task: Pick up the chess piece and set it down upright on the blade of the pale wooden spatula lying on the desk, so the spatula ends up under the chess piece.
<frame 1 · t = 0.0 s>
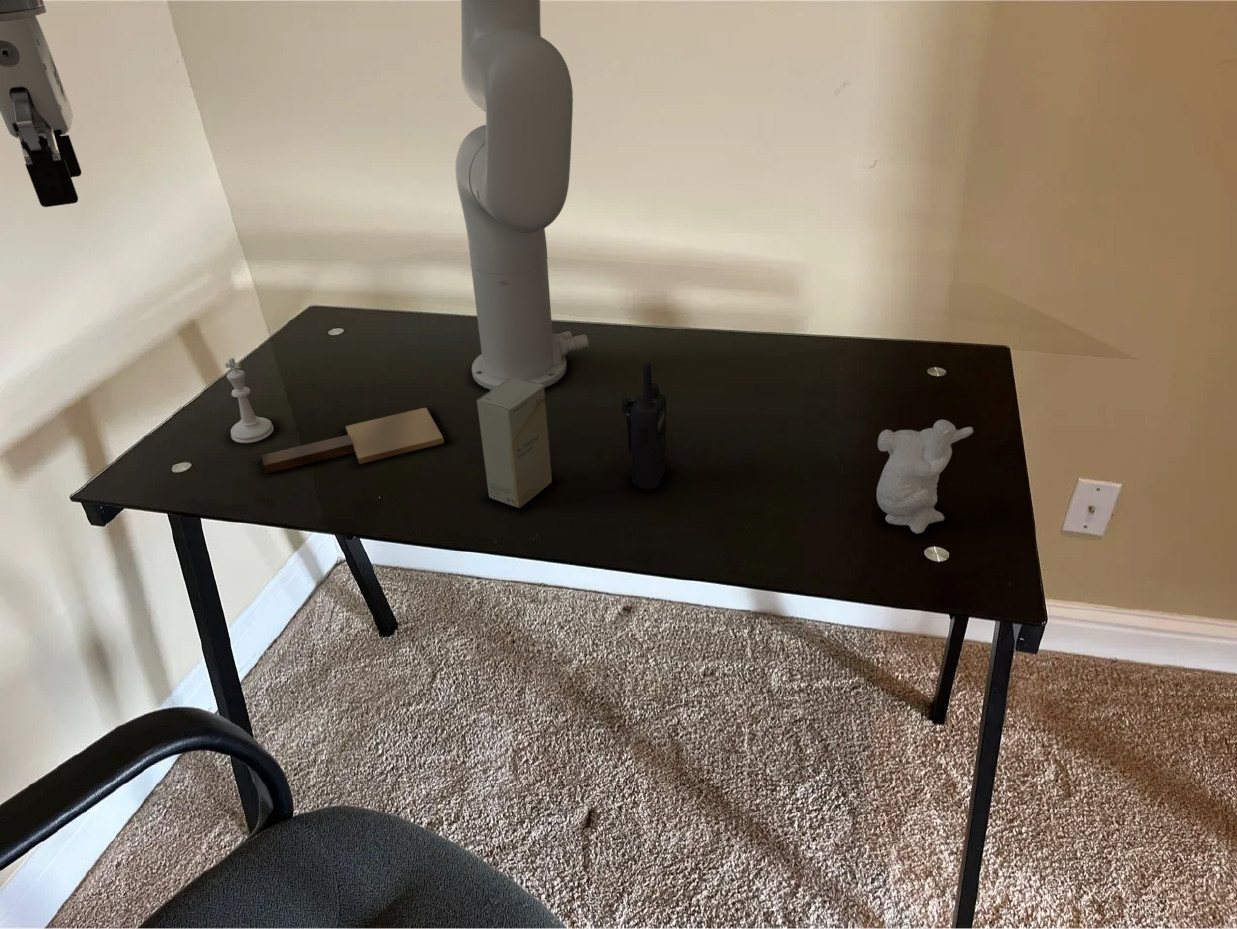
hand: (63, 190, 91), 31 cm above the table, tool pointing down, fingers open, 9 cm apart
two-way radio: (643, 479, 102), on the table
cosmetic box: (521, 490, 101), on the table
chess piece: (253, 433, 112), on the table
koala figurine: (908, 521, 94), on the table
spatula: (352, 447, 108), on the table
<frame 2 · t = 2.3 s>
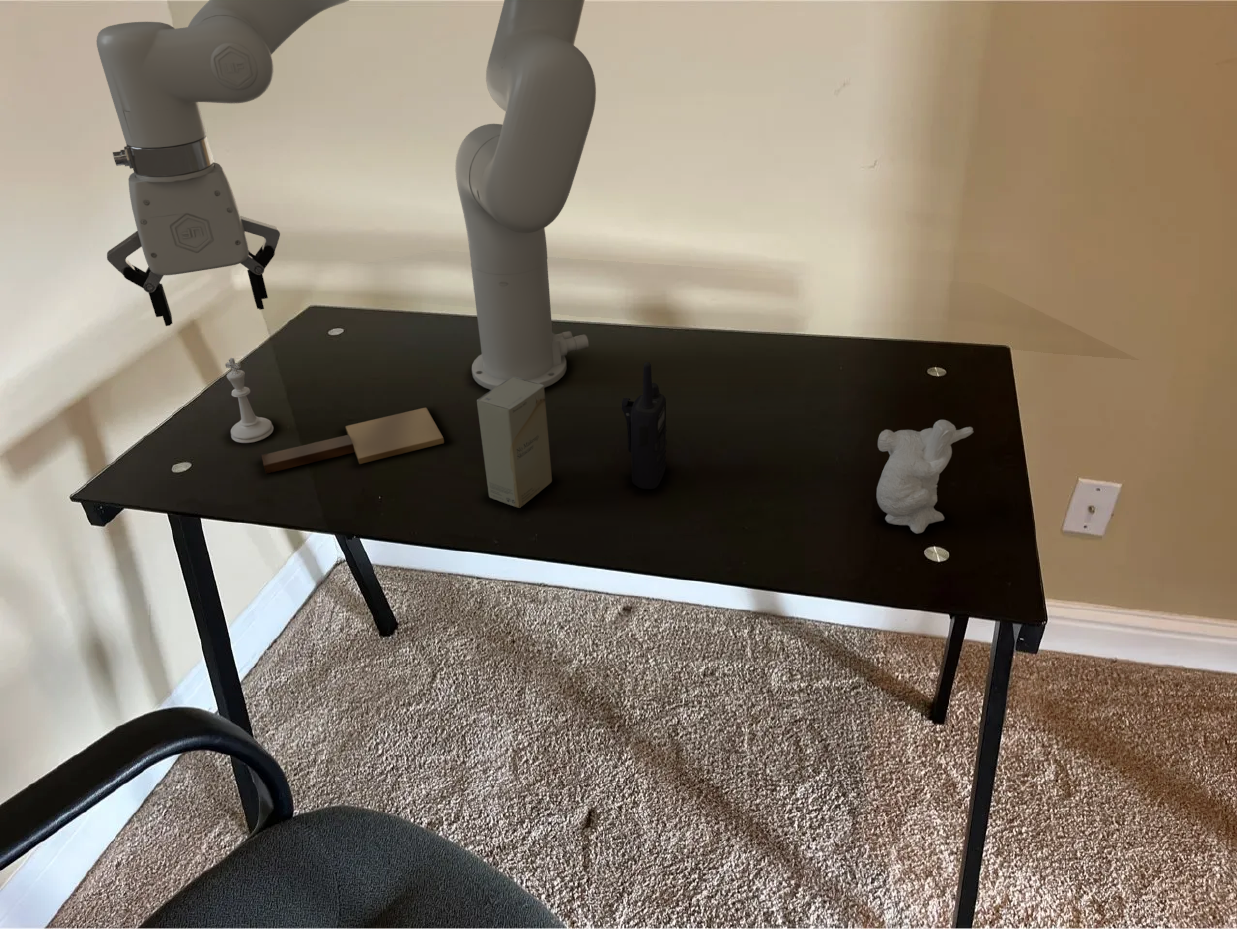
hand: (214, 312, 103), 16 cm above the table, tool pointing down, fingers open, 9 cm apart
nothing on the table moved.
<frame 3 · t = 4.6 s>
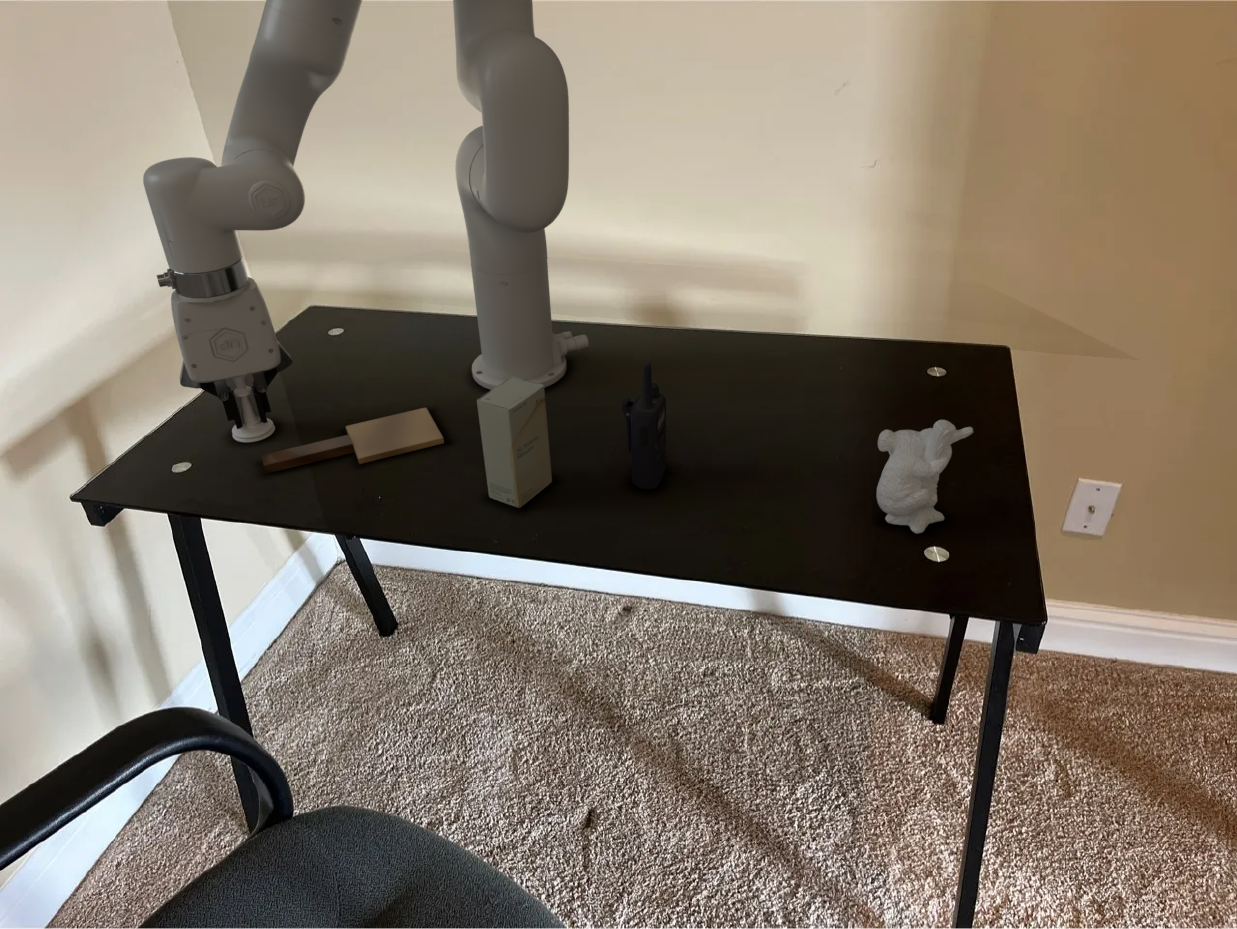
hand: (251, 419, 111), 2 cm above the table, tool pointing down, fingers closed on chess piece
chess piece: (254, 433, 112), on the table, touching gripper
everything else where it was.
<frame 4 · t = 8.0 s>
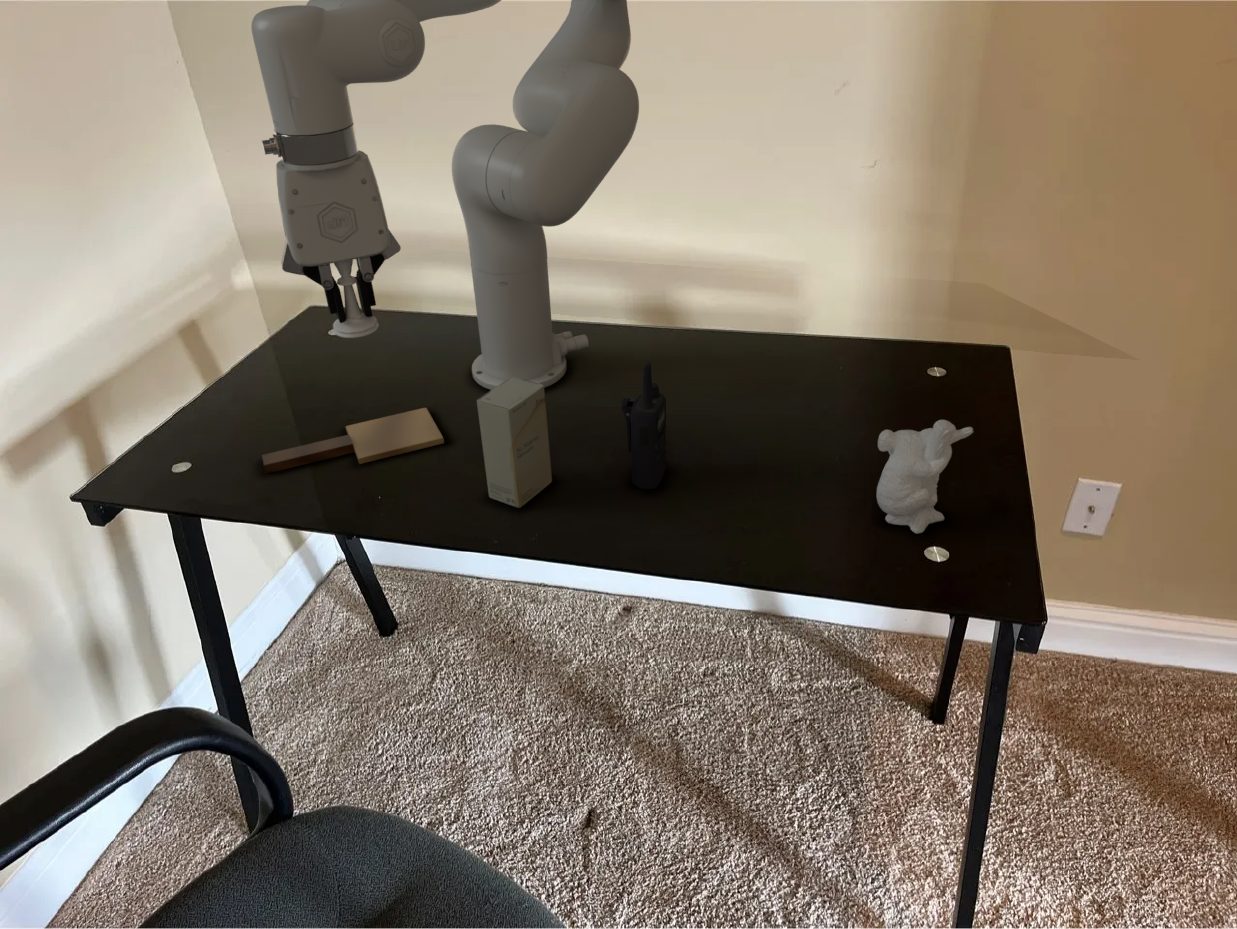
hand: (354, 314, 102), 16 cm above the table, tool pointing down, fingers closed on chess piece
chess piece: (356, 329, 103), point 14 cm above the table, touching gripper
everything else where it was.
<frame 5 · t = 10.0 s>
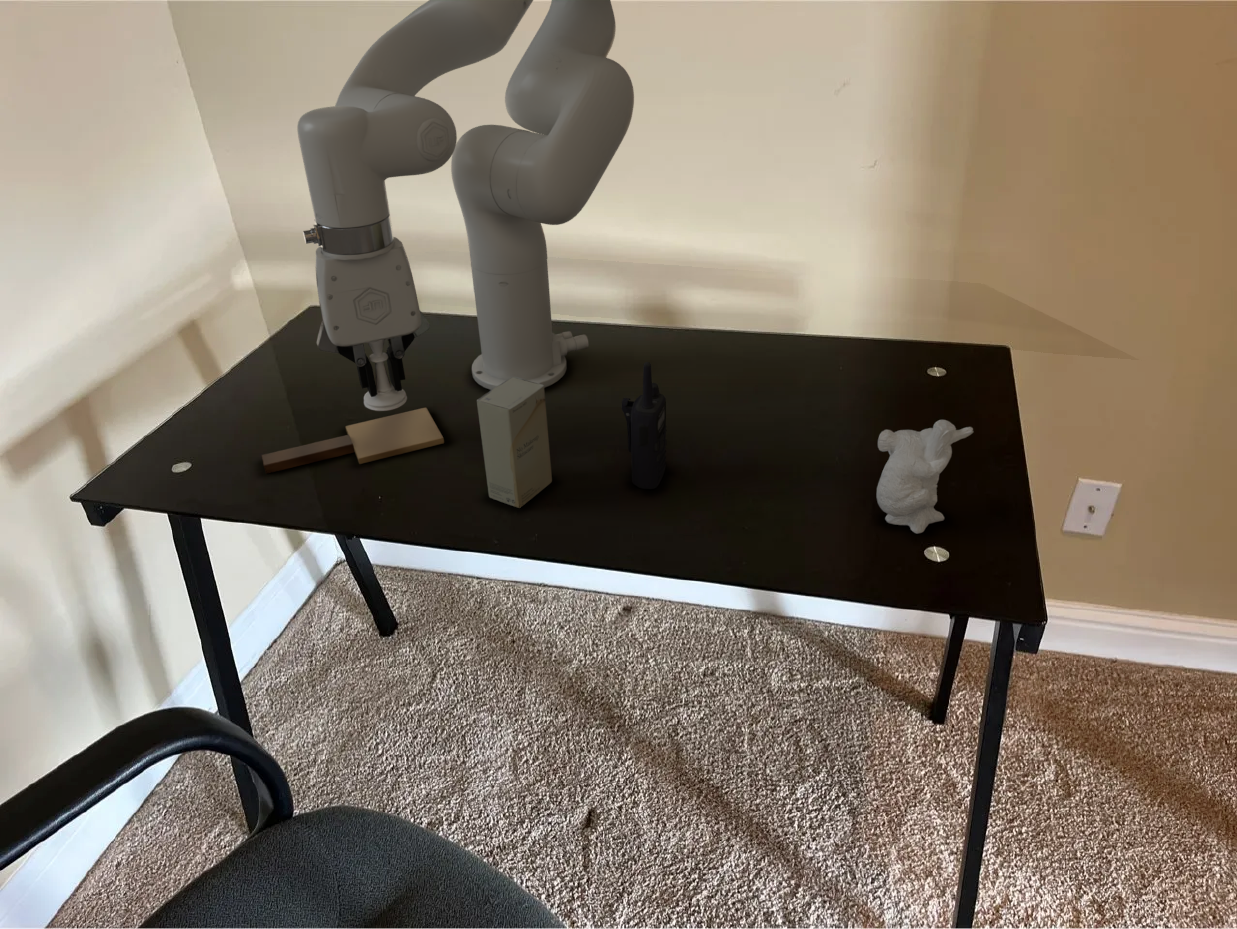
hand: (383, 387, 106), 7 cm above the table, tool pointing down, fingers closed on chess piece
chess piece: (385, 402, 107), point 5 cm above the table, touching gripper
everything else where it was.
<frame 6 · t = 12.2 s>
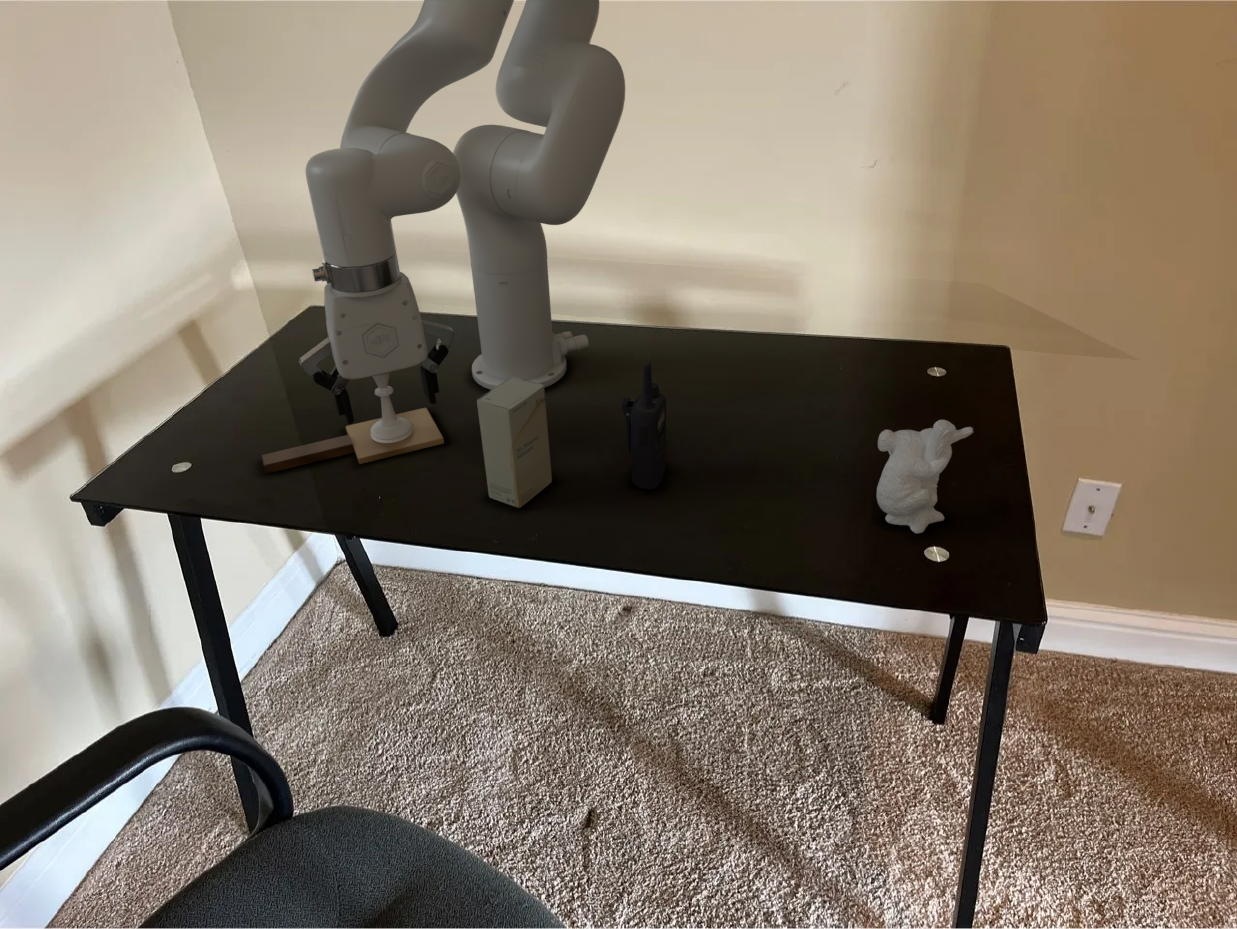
hand: (390, 408, 108), 4 cm above the table, tool pointing down, fingers open, 9 cm apart
chess piece: (392, 433, 110), point 1 cm above the table, touching spatula
spatula: (352, 447, 108), on the table, touching chess piece
everything else where it was.
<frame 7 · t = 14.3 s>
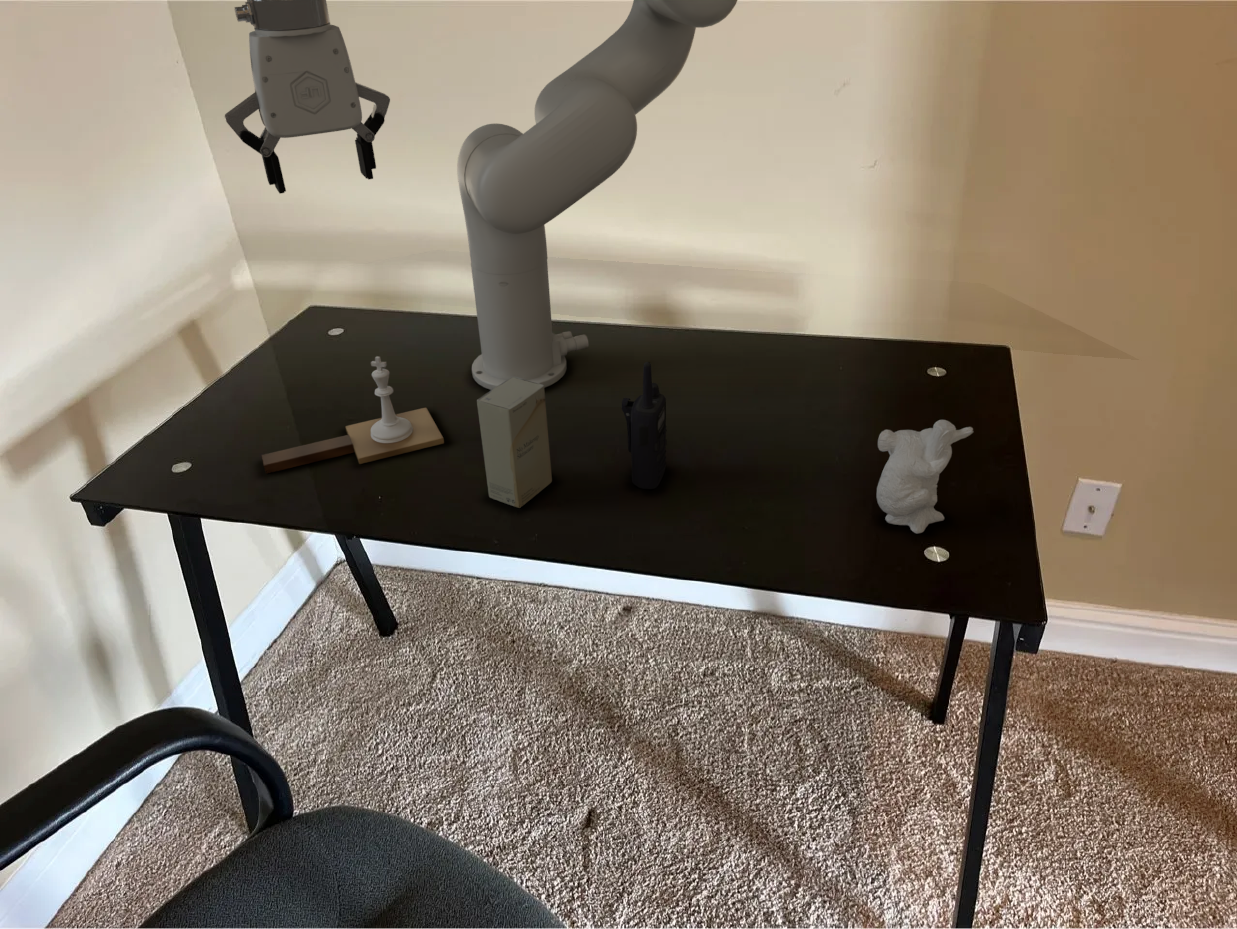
hand: (324, 183, 103), 28 cm above the table, tool pointing down, fingers open, 9 cm apart
nothing on the table moved.
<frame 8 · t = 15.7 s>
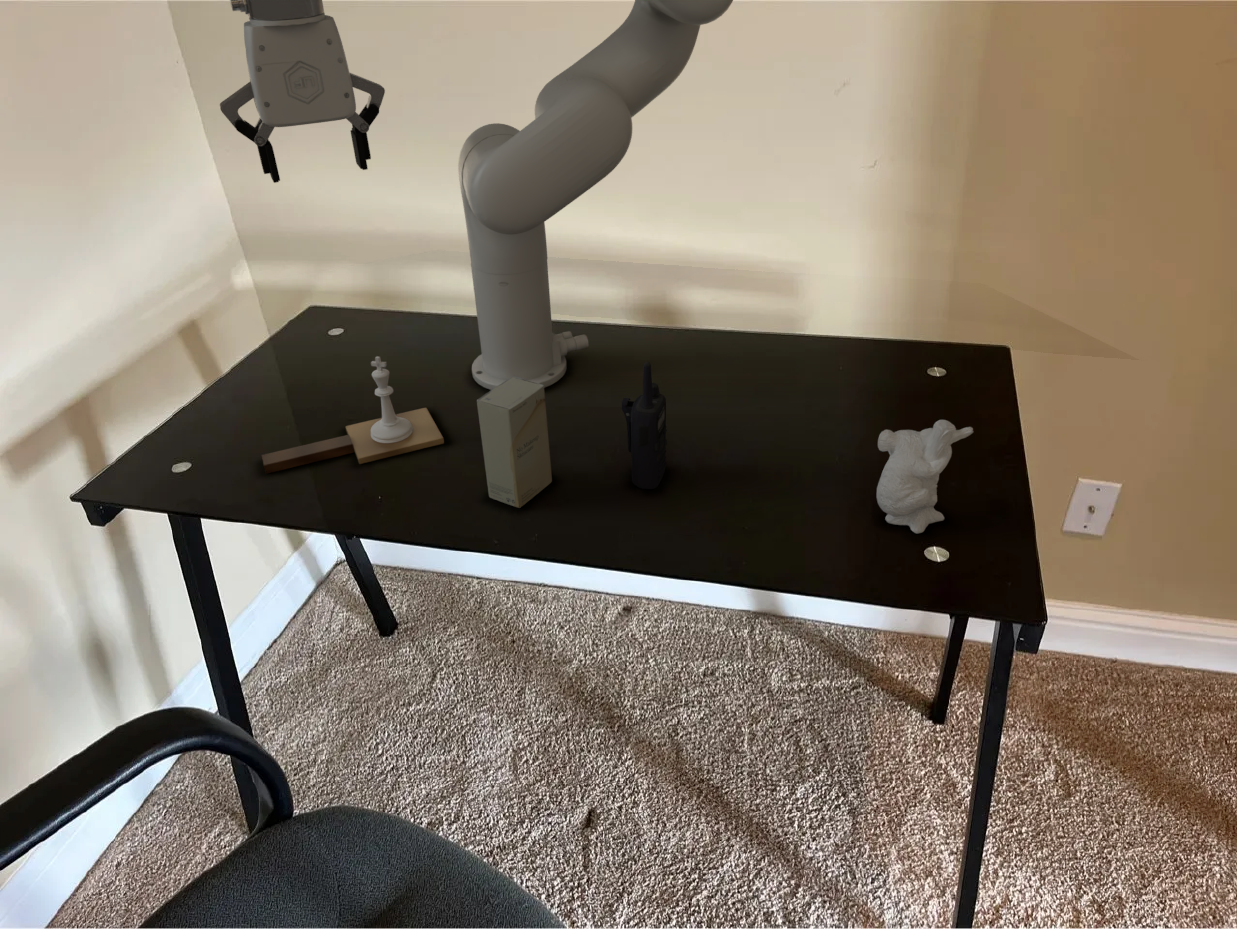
hand: (319, 172, 104), 28 cm above the table, tool pointing down, fingers open, 9 cm apart
nothing on the table moved.
at the end: chess piece inside the target area on the spatula (0.2 cm from its centre), point 0.6 cm above the spatula's base; chess piece touching spatula; chess piece tilted 0° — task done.
